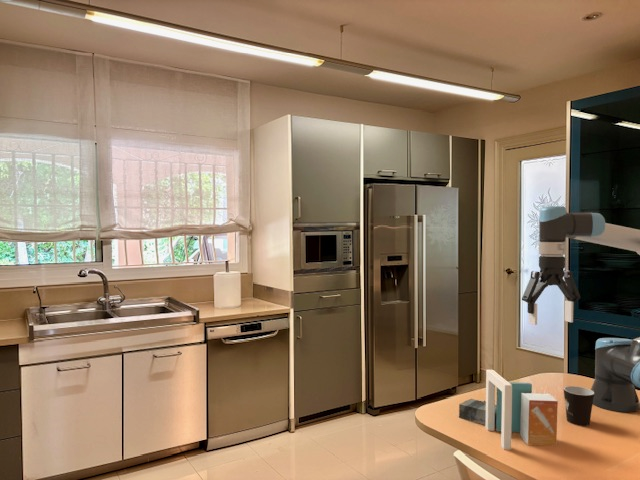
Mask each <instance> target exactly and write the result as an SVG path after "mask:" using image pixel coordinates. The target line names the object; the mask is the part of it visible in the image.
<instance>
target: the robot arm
mask: <svg viewBox="0 0 640 480" xmlns="http://www.w3.org/2000/svg"><path fill="white" fill-rule="evenodd" d="M538 217H539V218H538V223H539V224H538V225H539V226H538V228H539V229H538V230H539V232H538V233H539V234H538V235H539V237H538V239H539V240H538V242H539V243H538V254H539V256H538V267H539V269H540V270H539V271H537V270H536V271H534V270H532V271H530V278H529V281H528V283H527V285H526V288H525V290H524V292H523V295H522V296H521V301H524V302H525V303H527V313H528V315H529V316H528V323H529V324H531V325H534V326H537V325H538V303H536V302H537V300H538V299H539V298H540V296H541V295H542V293H543V292H544V290H545V289H546V288H547V287H549V286H557V287H558V289H559V290H560V291H561V293H562V294H563V296H564V297H565V299H566V300H565V301H564V322H568V323H574V311H575V306H576V305H575V304H576V302H578V300H580V299H581V295H580V292H579V289H578V287H577V285H576V282H575V279H574V276H573V271H572V270H569V269H565V268H566V257H565V256H564V255H566V245H567V244H566V241H567V240H566V238H568V239H574V240H579V241H582V242H583V241H584V242H589V243H592V244H597V245H598V244H599V245H602V246H608V247H611V248H612V247H613V248H617V249H622V250H628V251H631V252H636V253H637V255H639V256H640V229H637V228H632V227H626V226H623V225H618V224H612V223H607V222H606V219H605V217H604V216H603V215H602V214H601V213H598V212H592V211H591V212H567V207H565V206H562V205H561V206H560V205H558V206H557V205H556V206H554V205H553V206H542V207H541V208H540V211H539V216H538ZM594 350H595V353H594V355H595V359H594V365H595V366H594V367H595V368H594V380H593V383H592V386H591V388H590V390H592V391H593V392H594V399H593V406H596V407H598V408H601V409H604V410H605V409H606V410H609V411H614V412H622V413H625V412H626V413H632V412H633V413H634V412H637V411H639V410H640V400H639V396H638V393H637V391H636V388H635V387H637V388H640V336H639V337H636V338H633V339H632V338H631V339H629V338H620V337H602V338H601V337H600V338H598V339H597V340H596V341H595V348H594Z"/></svg>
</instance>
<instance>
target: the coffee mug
mask: <svg viewBox="0 0 640 480" xmlns="http://www.w3.org/2000/svg"><path fill="white" fill-rule="evenodd" d="M563 395H564V397H563V398H564V405H565V414H566V417H565V418H566V421H567V423H569V424H571V425H574V426H579V427H580V426H582V427H586V426H589V425H590V423H591V417H592V412H593V411H592V410H593V406H594V404H593V399H594V392H593V391H592V390H591V388H587V387H583V386H575V385H569V386H566V385H565V386H564V387H563Z"/></svg>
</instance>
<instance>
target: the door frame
mask: <svg viewBox="0 0 640 480" xmlns="http://www.w3.org/2000/svg"><path fill="white" fill-rule="evenodd" d="M485 373H486V374H485V375H486V376H485V378H486V379H485V401H486V424H485V425H484V426H485V427H484V428H485V430H487V431H495V428H494V420H495V405H496V389H497V388H498V389H499V390H501V391H502V421H501V431H500V436H501V437H500V447H501V448H502V449H503V450H504V451H505V450H506V451H507V450H508V451H509V450H510V451H511V450H512V432H511V423H512V385H511V384H510V383H509V382H510V381H507V380H506V378H504V377H503V376H501V375H500V374H499V373H498V372H497V371H495V370H494V369H486V371H485Z"/></svg>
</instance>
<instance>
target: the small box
mask: <svg viewBox="0 0 640 480" xmlns="http://www.w3.org/2000/svg"><path fill="white" fill-rule="evenodd" d="M558 403H559V401H558V400H557V399H556V398H555V397H553V395H551V394H550V393H539V392H532V393H521V428H520V432H519V435H520V437H521V438H522V440H523V441H524V442H525V443H526V444H527V445H528V446H529V445H530V446H550V447H556V446H557V441H558V440H557V439H558V437H557V435H558V431H557V429H558Z"/></svg>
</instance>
